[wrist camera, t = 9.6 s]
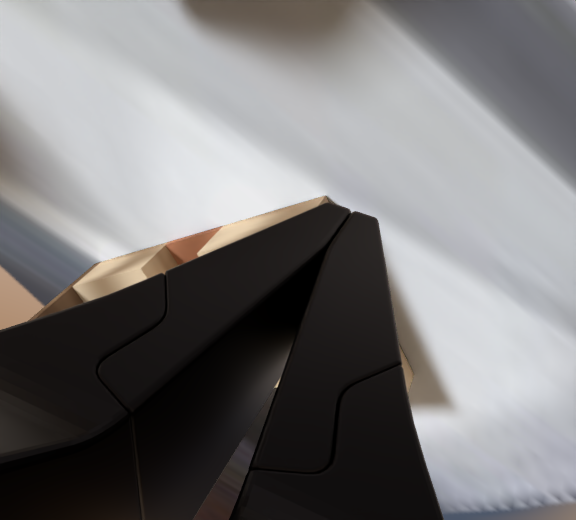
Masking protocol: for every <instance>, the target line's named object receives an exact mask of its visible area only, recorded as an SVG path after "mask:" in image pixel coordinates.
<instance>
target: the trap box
mask: <svg viewBox="0 0 576 520" xmlns="http://www.w3.org/2000/svg"><path fill="white" fill-rule="evenodd" d="M327 202H329V201H328V199H327V197H326V196H322V197H319V198H316V199H312V200H309V201H305V202H302V203H299V204H295V205H292V206H289V207H285V208H282V209H278V210H275V211H272V212H268V213H265V214H262V215H258V216H255V217H251V218H248V219H245V220H241V221H238V222H235V223H231V224H228V225H224V226H221V227H218V228H214V229H211V230H208V231H204V232H201V233H197V234H194V235H191V236H187V237H184V238H181V239H177V240H174V241H170V242H167V243H164V244H160V245H157V246H154V247H150V248H147V249H143V250H140V251H137V252H133V253H130V254H126V255H123V256H120V257H116V258H113V259H110V260H106V261H103V262H99V263H96V264H94V265H93V266H92V267H91V268H90V269H88V270H87V271H86V272H85V273H84V274H82V275H81V276H80V277H79V278H78V279H77V280H75V281H74V282H73V283H72V284H71V285H70V286H68V287H67V288H66V289H65V290H64V291H63V292H61V293H60V294H59V295H58V296H57V297H55V298H54V299H53V300H52V301H51V302H50V303H48V304H47V305H46V306H45V307H44V308H43V309H41V310H40V311H39V312H38V313H37V314H36V315H34V316H33V317H32V318H31V319H30V320H33V319H37V318H40V317H43V316H46V315H49V314H52V313H55V312H58V311H61V310H64V309H68V308H70V307H73V306H76V305H79V304H82V303H85V302H88V301H91V300H94V299H96V298H99V297H102V296H105V295H108V294H110V293H113V292H115V291H118V290H120V289H123V288H125V287H128V286H131V285H133V284H136V283H138V282H141V281H143V280H145V279H148V278H150V277H152V276H155V275H157V274H159V273H164V274H165V272H166V271H167V270H169V269H171V268H174V267H176V266H179V265H181V264H183V263H186V262H188V261H190V260H193V259H195V258H197V257H200V256H202V255H204V254H207V253H209V252H211V251H214V250H216V249H218V248H221V247H223V246H225V245H228V244H230V243H232V242H235V241H237V240H239V239H242V238H244V237H246V236H249V235H251V234H253V233H256V232H258V231H260V230H263V229H265V228H267V227H270V226H272V225H275V224H277V223H279V222H282V221H284V220H286V219H289V218H291V217H293V216H296V215H298V214H300V213H303V212H305V211H307V210H310V209H312V208H314V207H317V206H319V205H321V204H324V203H327ZM30 320H28V321H30ZM399 347H400V345H399ZM400 353H401V359H402V368H403V369H404V375H405V381H406V387H407V392H409V389H410V386H411V383H412V379H413V376H414V373H413V371H412V369H411V367H410V365H409V363H408V361H407V359H406V357H405V355H404V353H403V351H402V349H401V347H400ZM280 378H281V377H280ZM279 381H280V379H279ZM279 381H278V382H277V384H276V386H275V387H274V388H277V387H278V384H279Z"/></svg>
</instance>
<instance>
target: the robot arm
mask: <svg viewBox="0 0 576 520" xmlns="http://www.w3.org/2000/svg"><path fill="white" fill-rule="evenodd" d="M280 377H281V378H280ZM279 379H280V381H279ZM278 381H279V384H278V387H277V390H276V392H275V395H274V398H273V401H272V404H271V407H270V409H269V412H268V415H267V418H266V421H265V424H264V426H263V429H262V432H261V435H260V438H259V440H258V443H257V446H256V449H255V452H254V455H253V457H252V460H251V463H250V466H249V470H248V473H247V475H246V477H245V480H244V483H243V486H242V488H241V491H240V494H239V496H238V499H237V501H236V504H235V506H234V509H233V511H232V514H231V516H230V518H229V520H444V518H443V515H442V512H441V509H440V506H439V503H438V500H437V497H436V493H435V490H434V487H433V484H432V481H431V478H430V475H429V472H428V469H427V466H426V463H425V459H424V456H423V452H422V449H421V445H420V442H419V439H418V435H417V432H416V428H415V425H414V421H413V416H412V411H411V406H410V402H409V397H408V392H407V387H406V381H405V375H404V369H403V368H402V359H401V353H400V347H399V341H398V335H397V329H396V323H395V318H394V312H393V306H392V300H391V294H390V288H389V282H388V276H387V270H386V264H385V258H384V252H383V246H382V240H381V235H380V229H379V223H378V220H377V219H376V218H375V217H372V216H369V215H366V214H363V213H360V212H356V211H355V212H352V213H351V211H350V209H348V208H345V207H342V206H339V205H336V204H333V203H330V202H327V203H324V204H321V205H319V206H317V207H314V208H312V209H310V210H307V211H305V212H303V213H300V214H298V215H296V216H293V217H291V218H289V219H286V220H284V221H282V222H279V223H277V224H275V225H272V226H270V227H267V228H265V229H263V230H260V231H258V232H256V233H253V234H251V235H249V236H246V237H244V238H242V239H239V240H237V241H235V242H232V243H230V244H228V245H225V246H223V247H221V248H218V249H216V250H214V251H211V252H209V253H207V254H204V255H202V256H200V257H197V258H195V259H193V260H190V261H188V262H186V263H183V264H181V265H179V266H176V267H174V268H171V269H169V270H167V271H166V272H165V274H164V273H159V274H157V275H155V276H152V277H150V278H148V279H145V280H143V281H141V282H138V283H136V284H133V285H131V286H128V287H125V288H123V289H120V290H118V291H115V292H113V293H110V294H108V295H105V296H102V297H99V298H96V299H94V300H91V301H88V302H85V303H82V304H79V305H76V306H73V307H70V308H68V309H64V310H61V311H58V312H55V313H52V314H49V315H46V316H43V317H40V318H37V319H33V320H30V321H27V322H24V323H21V324H18V325H15V326H12V327H9V328H6V329H2V330H0V520H193V519H194V517H195V515H196V514H197V512H198V511H199V509H200V507H201V506H202V504H203V502H204V501H205V499H206V498H207V496H208V494H209V493H210V491H211V489H212V488H213V486H214V485H215V483H216V481H217V480H218V478H219V477H220V475H221V473H222V472H223V470H224V468H225V467H226V465H227V464H228V462H229V460H230V459H231V457H232V455H233V454H234V452H235V451H236V449H237V447H238V446H239V444H240V442H241V441H242V439H243V438H244V436H245V434H246V433H247V431H248V429H249V428H250V426H251V425H252V423H253V421H254V420H255V418H256V416H257V415H258V413H259V412H260V410H261V408H262V407H263V405H264V403H265V402H266V400H267V399H268V397H269V395H270V394H271V392H272V390H273V389H274V387H275V386H276V384H277V382H278Z"/></svg>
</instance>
